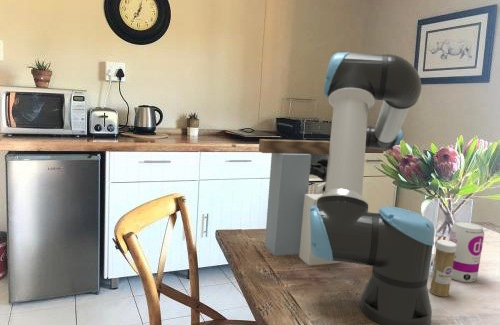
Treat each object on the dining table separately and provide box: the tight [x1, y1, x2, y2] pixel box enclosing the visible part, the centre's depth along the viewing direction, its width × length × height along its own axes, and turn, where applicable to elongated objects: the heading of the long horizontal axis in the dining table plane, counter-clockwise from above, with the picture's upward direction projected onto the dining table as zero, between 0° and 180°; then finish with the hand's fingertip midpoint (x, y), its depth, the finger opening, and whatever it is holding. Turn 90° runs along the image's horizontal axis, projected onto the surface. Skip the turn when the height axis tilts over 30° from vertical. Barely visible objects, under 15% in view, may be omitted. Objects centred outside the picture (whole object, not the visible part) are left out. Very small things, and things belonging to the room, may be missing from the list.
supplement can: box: [448, 220, 485, 283], centre depth 116 cm, size 8×8×15 cm
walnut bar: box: [258, 138, 330, 155], centre depth 124 cm, size 22×4×4 cm, turn 109°
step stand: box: [264, 153, 341, 266], centre depth 124 cm, size 17×16×30 cm
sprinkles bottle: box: [429, 239, 457, 298], centre depth 106 cm, size 5×5×13 cm
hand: (296, 180), depth 126 cm, fingers open, 13 cm apart
